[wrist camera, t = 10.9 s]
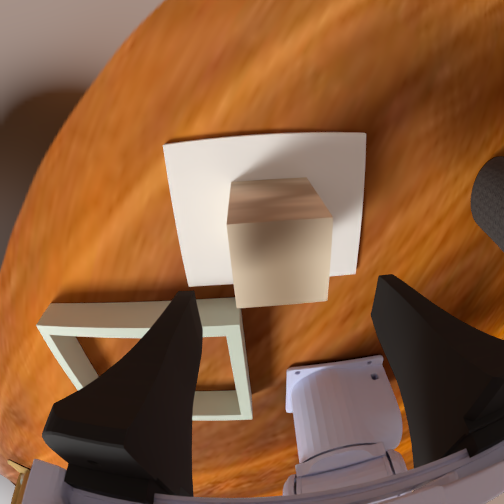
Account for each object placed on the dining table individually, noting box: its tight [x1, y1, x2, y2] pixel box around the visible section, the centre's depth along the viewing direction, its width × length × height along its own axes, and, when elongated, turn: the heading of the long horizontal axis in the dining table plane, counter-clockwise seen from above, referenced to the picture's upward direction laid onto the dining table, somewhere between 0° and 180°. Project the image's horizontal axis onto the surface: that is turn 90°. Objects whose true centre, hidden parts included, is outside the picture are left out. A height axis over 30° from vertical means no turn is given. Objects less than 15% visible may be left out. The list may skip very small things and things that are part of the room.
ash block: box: [226, 177, 333, 308], centre depth 17 cm, size 4×4×6 cm
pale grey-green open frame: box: [36, 297, 252, 420], centre depth 25 cm, size 17×13×3 cm
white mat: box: [163, 132, 366, 287], centre depth 19 cm, size 12×10×1 cm
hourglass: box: [8, 460, 31, 504], centre depth 52 cm, size 24×22×25 cm
